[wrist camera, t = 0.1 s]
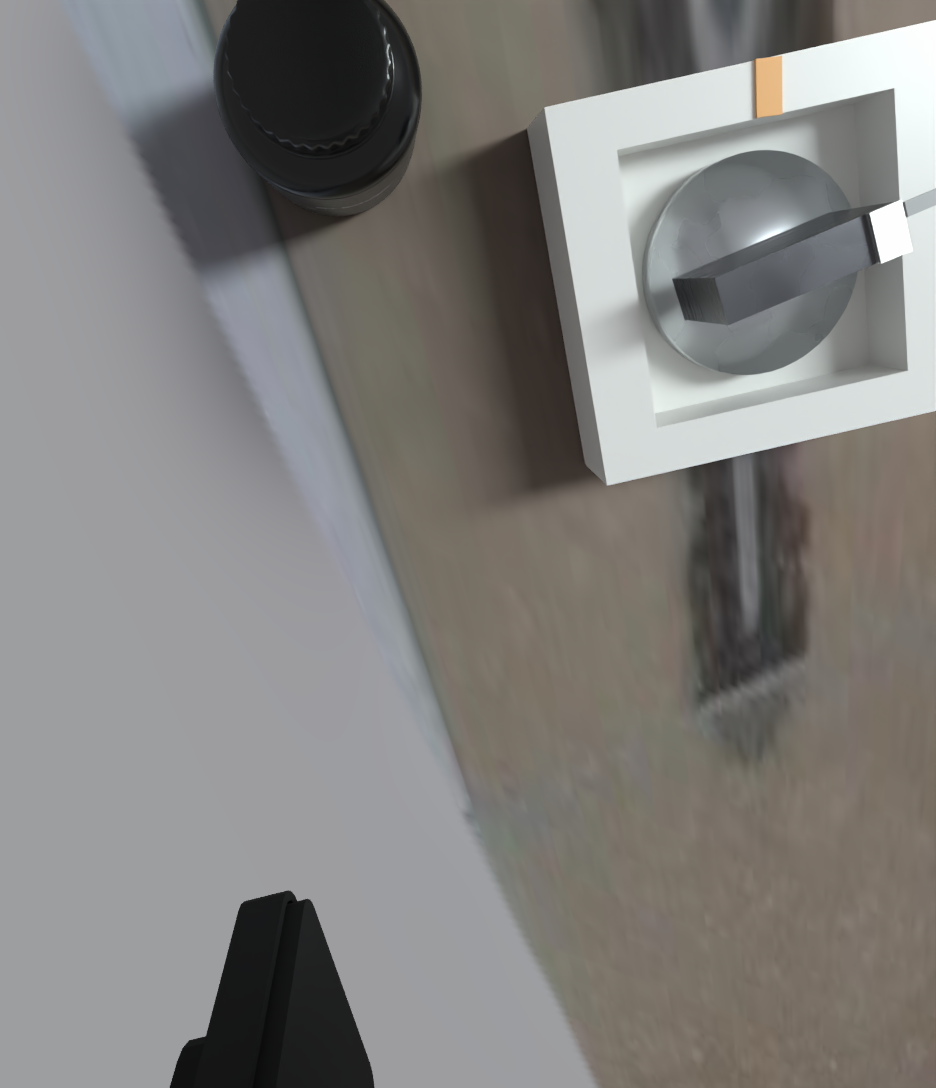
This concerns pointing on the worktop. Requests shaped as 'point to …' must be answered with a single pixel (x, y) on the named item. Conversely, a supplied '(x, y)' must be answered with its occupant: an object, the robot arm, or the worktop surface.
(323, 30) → the supplement bottle
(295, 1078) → the robot arm
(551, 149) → the dial housing
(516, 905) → the worktop surface
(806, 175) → the dial
